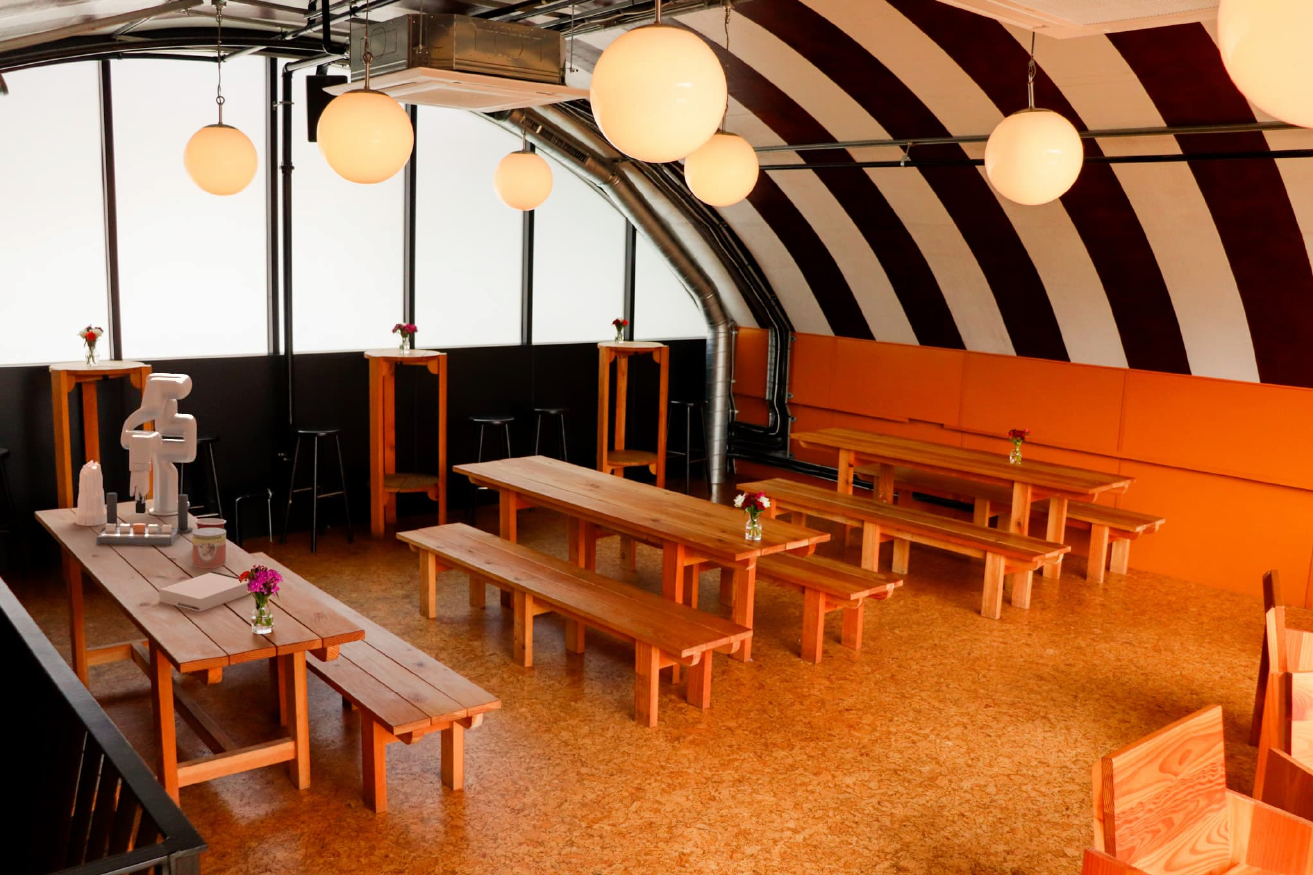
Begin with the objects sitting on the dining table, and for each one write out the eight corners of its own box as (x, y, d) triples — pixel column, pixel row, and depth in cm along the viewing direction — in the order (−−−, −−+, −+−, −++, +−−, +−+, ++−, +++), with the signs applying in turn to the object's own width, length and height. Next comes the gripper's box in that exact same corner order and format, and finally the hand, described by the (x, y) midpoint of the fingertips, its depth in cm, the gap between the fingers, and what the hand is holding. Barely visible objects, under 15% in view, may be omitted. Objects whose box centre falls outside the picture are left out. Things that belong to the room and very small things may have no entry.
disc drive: (251, 594, 352) (252, 580, 351) (200, 613, 332) (200, 598, 331) (211, 585, 359) (211, 571, 358) (158, 602, 338) (158, 588, 337)
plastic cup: (231, 548, 400) (231, 517, 398) (216, 555, 390) (216, 524, 388) (204, 545, 401) (204, 515, 399) (189, 552, 390) (189, 521, 389)
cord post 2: (188, 528, 422) (188, 492, 419) (195, 532, 417) (195, 496, 414) (170, 530, 417) (170, 494, 414) (177, 534, 412) (177, 498, 409)
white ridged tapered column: (96, 526, 414) (96, 465, 410) (70, 524, 414) (69, 463, 410) (111, 520, 425) (111, 460, 421) (85, 518, 425) (84, 458, 421)
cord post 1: (118, 527, 416) (117, 490, 413) (124, 531, 411) (124, 494, 409) (99, 529, 411) (98, 492, 408) (105, 533, 406) (105, 496, 403)
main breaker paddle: (134, 530, 401) (134, 523, 401) (145, 531, 402) (145, 523, 402) (132, 532, 399) (132, 524, 399) (144, 532, 400) (144, 524, 400)
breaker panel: (107, 534, 405) (107, 519, 404) (179, 535, 411) (179, 520, 410) (97, 544, 392) (96, 529, 391) (171, 545, 398) (171, 530, 397)
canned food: (190, 567, 373) (190, 535, 371) (195, 558, 384) (195, 527, 382) (223, 567, 376) (224, 535, 374) (227, 558, 387) (228, 527, 385)
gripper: (134, 462, 405) (135, 508, 408) (124, 470, 391) (124, 517, 394) (155, 462, 407) (155, 508, 410) (146, 470, 392) (146, 517, 395)
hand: (140, 512), depth 402 cm, fingers closed
